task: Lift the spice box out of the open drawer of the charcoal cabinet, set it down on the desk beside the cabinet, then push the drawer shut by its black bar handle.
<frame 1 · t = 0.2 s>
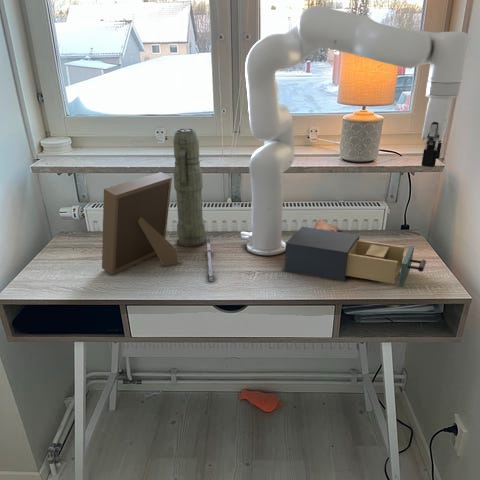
hand: (430, 162, 134), 31 cm above the table, tool pointing down, fingers open, 9 cm apart
spice box: (375, 268, 147), point 2 cm above the table, touching drawer
photo frame: (147, 265, 156), on the table
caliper: (209, 267, 154), on the table
cabinet: (321, 266, 153), on the table
drawer: (385, 262, 145), point 4 cm above the table, slide at 14.5 cm, touching spice box
sunglasses case: (326, 238, 173), on the table
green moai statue: (191, 241, 172), on the table
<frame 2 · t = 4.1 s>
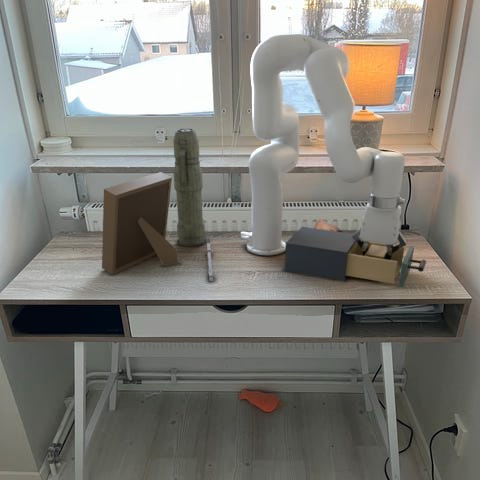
hand: (375, 264, 146), 3 cm above the table, tool pointing down, fingers closed on spice box, 5 cm apart
spice box: (375, 268, 147), point 2 cm above the table, touching drawer, gripper
everything else where it was.
when the fingers open (1 cm above the table, at t = 11.3 s): spice box stays where it is, on the table.
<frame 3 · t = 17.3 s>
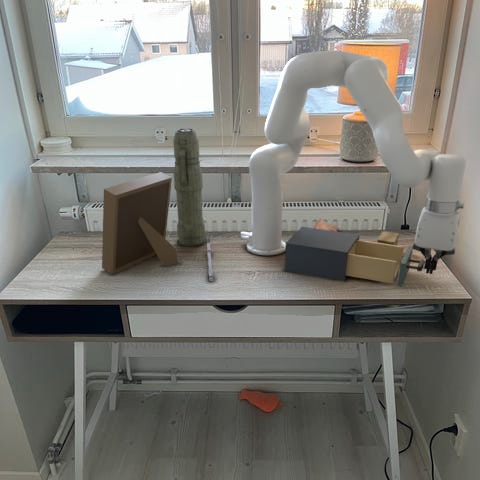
hand: (429, 271, 141), 4 cm above the table, tool pointing down, fingers closed
spice box: (386, 253, 162), on the table
drawer: (384, 262, 145), point 4 cm above the table, slide at 14.2 cm, touching gripper
everything else where it was.
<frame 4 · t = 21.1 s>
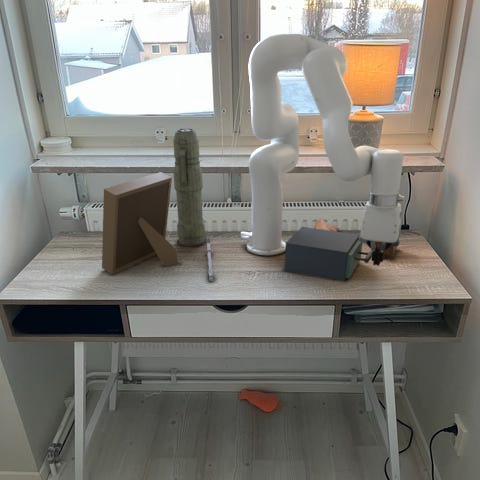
hand: (376, 263, 146), 4 cm above the table, tool pointing down, fingers closed
drawer: (334, 254, 150), point 4 cm above the table, slide at 0.0 cm, touching cabinet, gripper
everything else where it was.
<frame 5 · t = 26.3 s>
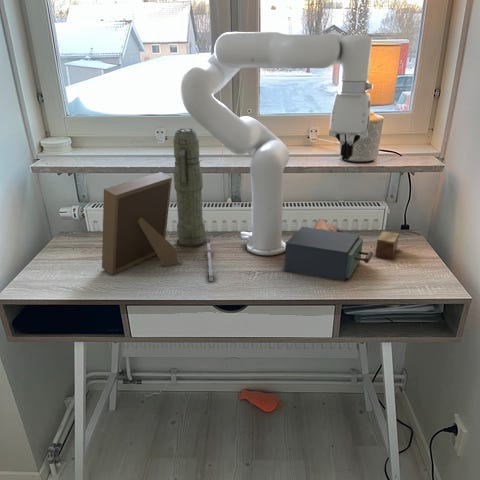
hand: (346, 158, 146), 29 cm above the table, tool pointing down, fingers closed
drawer: (334, 254, 150), point 4 cm above the table, slide at 0.0 cm
everything else where it was.
at the end: spice box inside the target area (0.1 cm from its centre), on the table; spice box tilted 0°; drawer slide at 0.0 cm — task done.
